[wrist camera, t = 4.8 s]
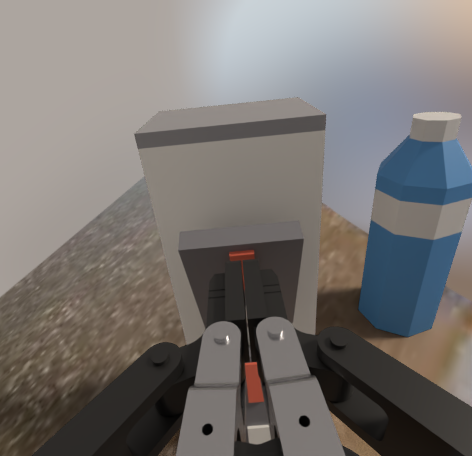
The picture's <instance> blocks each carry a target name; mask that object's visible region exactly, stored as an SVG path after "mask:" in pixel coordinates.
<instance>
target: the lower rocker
mask: <svg viewBox="0 0 472 456" xmlns="http://www.w3.org/2000/svg"><path fill="white" fill-rule="evenodd" d="M249 356H250V362H247V363H245V374H246V443H251V444H262V443H264V442H267V441H269V440H271V436H270V430H269V424H268V419H267V414H266V409H265V403H264V398H263V393H262V388H261V382H260V378H259V375H258V370H257V362H252V360H251V350H250V347H249Z"/></svg>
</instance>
